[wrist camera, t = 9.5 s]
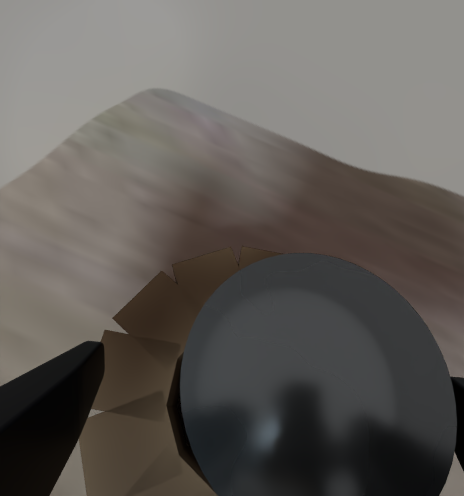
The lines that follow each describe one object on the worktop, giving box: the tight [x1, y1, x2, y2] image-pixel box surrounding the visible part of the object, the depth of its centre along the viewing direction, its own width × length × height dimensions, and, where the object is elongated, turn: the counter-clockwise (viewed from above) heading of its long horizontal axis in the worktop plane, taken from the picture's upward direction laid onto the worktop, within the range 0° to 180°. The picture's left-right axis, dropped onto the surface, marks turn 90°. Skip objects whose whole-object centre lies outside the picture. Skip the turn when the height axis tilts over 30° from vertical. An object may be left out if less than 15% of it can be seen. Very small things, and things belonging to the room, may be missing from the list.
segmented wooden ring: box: [79, 246, 282, 496], centre depth 14 cm, size 12×12×4 cm
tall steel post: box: [180, 253, 457, 496], centre depth 10 cm, size 4×4×12 cm
